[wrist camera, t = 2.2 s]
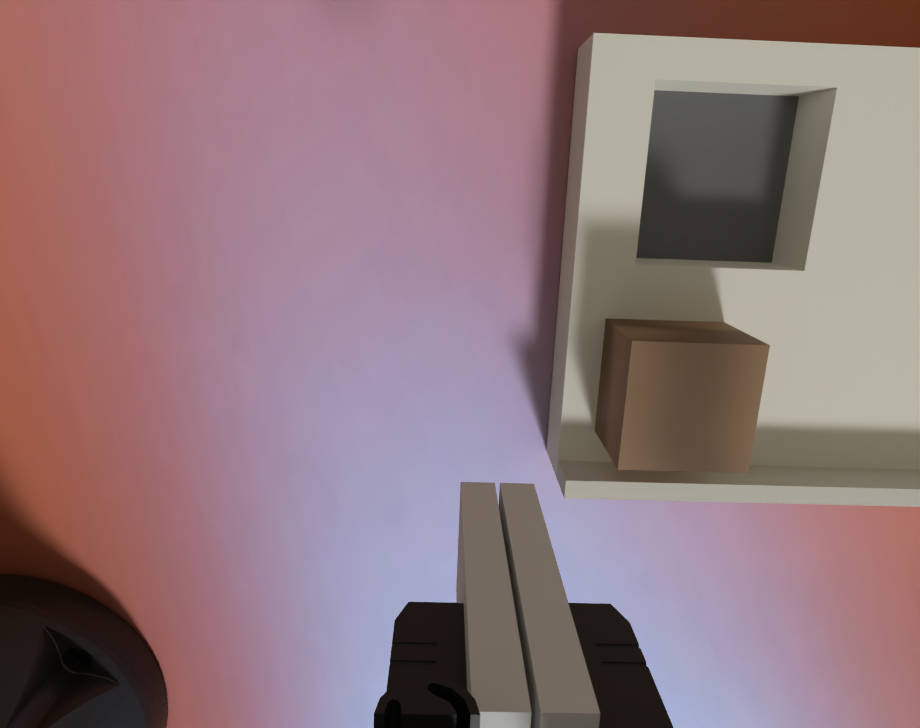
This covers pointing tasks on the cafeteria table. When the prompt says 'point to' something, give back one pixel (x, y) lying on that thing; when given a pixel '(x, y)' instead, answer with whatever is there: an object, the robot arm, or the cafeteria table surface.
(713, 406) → the block
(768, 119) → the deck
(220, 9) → the cafeteria table surface
